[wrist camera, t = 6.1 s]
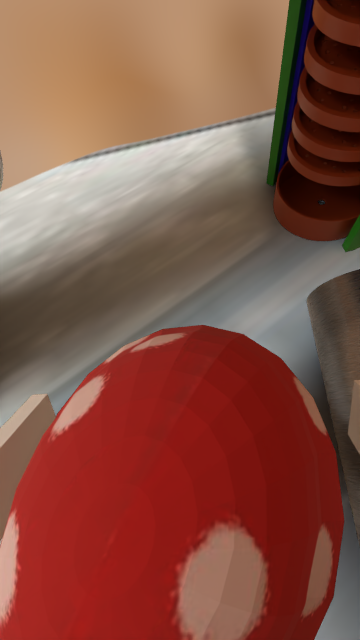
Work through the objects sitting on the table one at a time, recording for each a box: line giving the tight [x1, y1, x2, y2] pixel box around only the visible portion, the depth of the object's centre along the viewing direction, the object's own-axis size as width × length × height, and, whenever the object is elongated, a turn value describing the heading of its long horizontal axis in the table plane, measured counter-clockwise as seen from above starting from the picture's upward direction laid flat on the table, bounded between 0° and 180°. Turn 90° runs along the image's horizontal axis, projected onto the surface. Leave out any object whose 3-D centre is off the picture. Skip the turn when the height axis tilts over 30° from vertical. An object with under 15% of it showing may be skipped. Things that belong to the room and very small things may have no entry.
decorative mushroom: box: [0, 325, 344, 640], centre depth 11 cm, size 10×9×15 cm
